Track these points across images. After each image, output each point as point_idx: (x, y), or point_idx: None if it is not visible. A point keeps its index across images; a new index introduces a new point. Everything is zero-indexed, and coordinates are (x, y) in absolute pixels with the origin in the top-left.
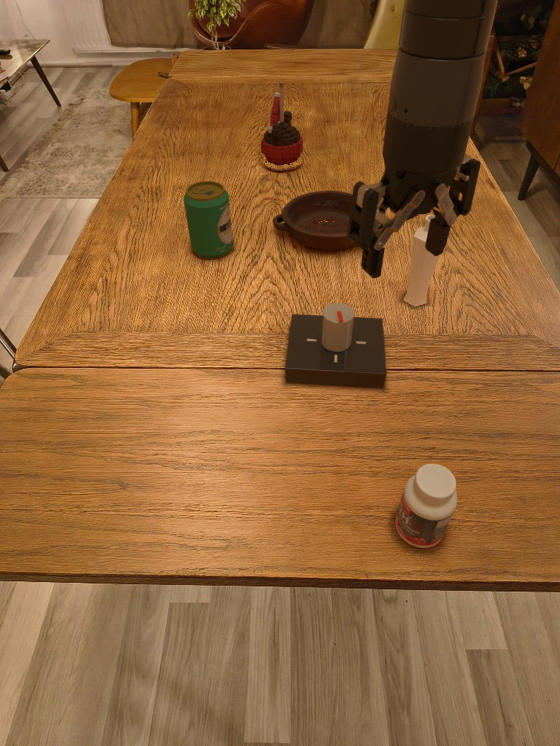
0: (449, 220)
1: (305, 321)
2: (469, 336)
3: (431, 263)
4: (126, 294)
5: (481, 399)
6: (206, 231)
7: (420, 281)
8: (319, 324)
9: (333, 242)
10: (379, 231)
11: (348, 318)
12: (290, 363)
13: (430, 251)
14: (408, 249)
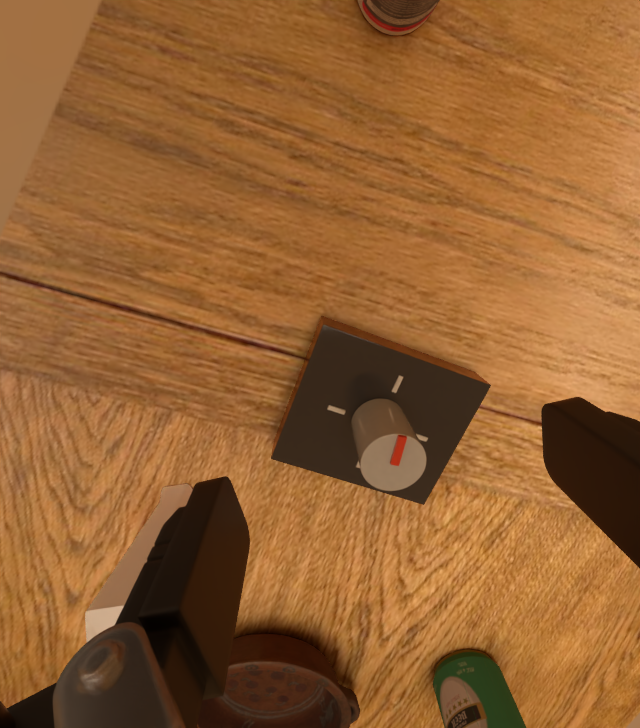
0: (128, 666)
1: None
2: (116, 393)
3: (135, 556)
4: (624, 604)
5: (156, 241)
6: (503, 711)
7: None
8: None
9: (280, 650)
10: None
11: (382, 442)
12: (477, 394)
13: (239, 510)
14: None
